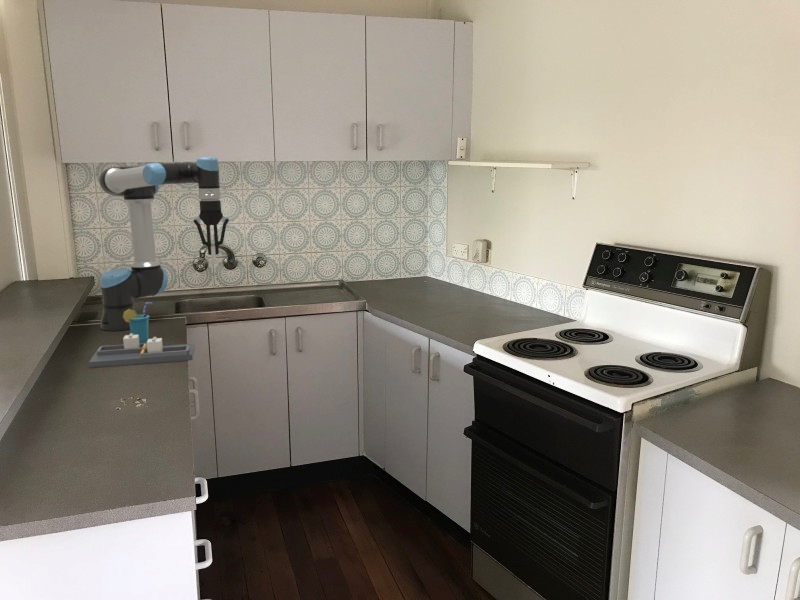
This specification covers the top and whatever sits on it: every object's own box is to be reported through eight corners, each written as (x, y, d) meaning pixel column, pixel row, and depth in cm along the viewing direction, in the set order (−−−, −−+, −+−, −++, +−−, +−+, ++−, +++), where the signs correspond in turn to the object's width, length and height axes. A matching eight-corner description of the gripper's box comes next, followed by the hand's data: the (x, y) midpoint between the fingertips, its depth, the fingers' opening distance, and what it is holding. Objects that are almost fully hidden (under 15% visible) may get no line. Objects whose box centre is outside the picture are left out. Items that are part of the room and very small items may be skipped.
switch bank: (97, 355, 238) (96, 346, 237) (194, 348, 245) (193, 339, 244) (89, 367, 224) (88, 357, 224) (192, 360, 232) (191, 350, 231)
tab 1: (126, 349, 238) (124, 333, 237) (139, 348, 239) (138, 332, 238) (124, 352, 234) (122, 336, 233) (138, 351, 235) (136, 335, 234)
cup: (147, 337, 261) (144, 299, 258) (163, 339, 258) (160, 301, 255) (120, 347, 248) (116, 307, 245) (136, 349, 245) (133, 309, 242)
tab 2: (149, 352, 234) (148, 337, 232) (163, 351, 235) (161, 336, 233) (148, 356, 229) (146, 340, 228) (161, 355, 230) (160, 339, 229)
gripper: (190, 201, 242) (195, 265, 247) (228, 200, 245) (232, 264, 250) (192, 199, 249) (196, 262, 254) (228, 198, 252) (232, 261, 257)
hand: (214, 263), depth 252 cm, fingers closed
